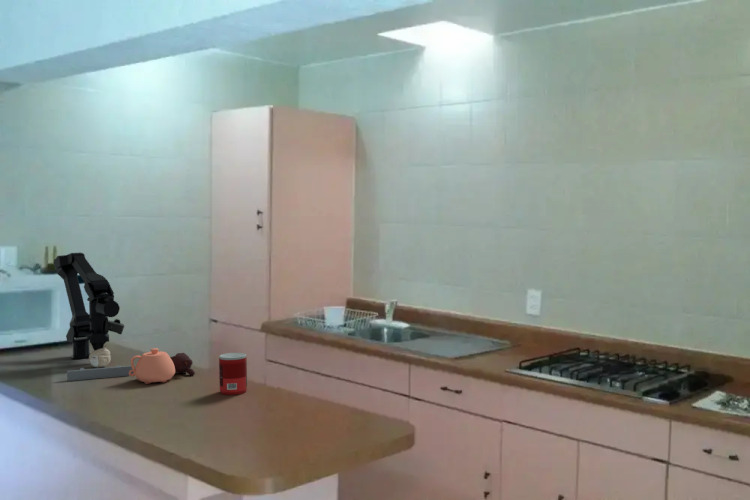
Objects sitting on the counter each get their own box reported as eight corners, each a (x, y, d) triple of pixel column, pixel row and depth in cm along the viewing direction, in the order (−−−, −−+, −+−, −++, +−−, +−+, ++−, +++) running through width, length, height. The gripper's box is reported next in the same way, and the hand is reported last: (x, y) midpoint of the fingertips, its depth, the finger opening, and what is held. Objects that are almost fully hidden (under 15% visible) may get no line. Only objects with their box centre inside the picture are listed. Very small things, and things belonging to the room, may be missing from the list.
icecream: (156, 352, 242) (180, 363, 232) (176, 344, 247) (200, 354, 237) (161, 371, 244) (184, 382, 234) (180, 362, 249) (204, 373, 239)
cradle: (67, 376, 236) (67, 367, 236) (132, 371, 244) (132, 362, 243) (67, 381, 231) (67, 371, 230) (133, 375, 238) (133, 366, 238)
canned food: (252, 391, 216) (251, 354, 215) (230, 396, 210) (229, 359, 209) (236, 387, 221) (236, 351, 220) (214, 392, 215) (213, 355, 215)
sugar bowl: (176, 383, 227) (176, 350, 226) (129, 387, 222) (128, 354, 222) (174, 374, 238) (173, 343, 238) (128, 378, 234) (128, 346, 233)
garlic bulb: (94, 370, 246) (93, 346, 246) (86, 367, 251) (85, 344, 250) (113, 366, 251) (112, 343, 250) (105, 364, 255) (104, 341, 255)
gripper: (123, 316, 250) (125, 361, 251) (121, 309, 268) (122, 351, 269) (89, 318, 246) (90, 364, 247) (88, 311, 264) (90, 354, 265)
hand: (99, 358), depth 257 cm, fingers closed
